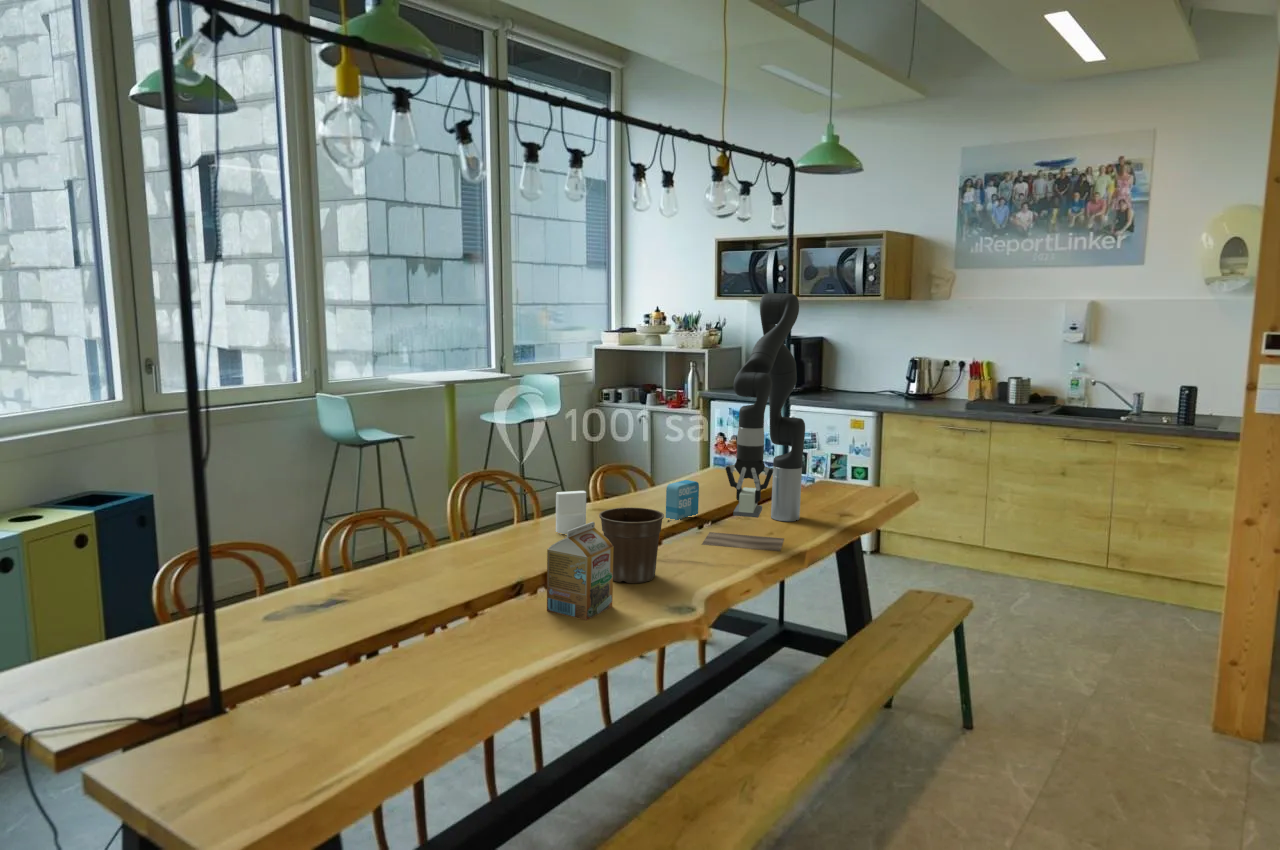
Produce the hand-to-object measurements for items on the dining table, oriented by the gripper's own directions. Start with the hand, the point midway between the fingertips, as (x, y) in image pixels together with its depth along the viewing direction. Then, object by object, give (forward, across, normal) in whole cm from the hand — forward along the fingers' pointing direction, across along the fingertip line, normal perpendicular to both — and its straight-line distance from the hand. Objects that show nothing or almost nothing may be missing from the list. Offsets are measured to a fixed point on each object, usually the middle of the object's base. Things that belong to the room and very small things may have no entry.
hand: (748, 502), depth 246 cm
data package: (+13, +24, -26) cm, 38 cm away
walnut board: (+13, +1, 0) cm, 13 cm away
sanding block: (+3, 0, 0) cm, 3 cm away
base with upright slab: (+13, +53, 0) cm, 55 cm away
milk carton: (+13, +30, +63) cm, 71 cm away
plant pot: (+13, +25, +37) cm, 47 cm away
